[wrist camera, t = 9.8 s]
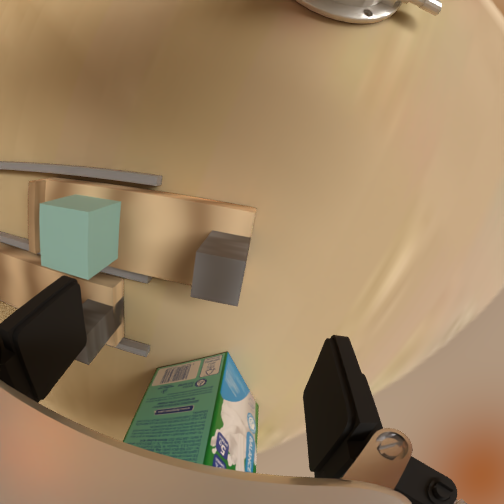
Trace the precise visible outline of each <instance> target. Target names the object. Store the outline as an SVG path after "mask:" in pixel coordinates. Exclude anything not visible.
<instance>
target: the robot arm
mask: <svg viewBox="0 0 504 504" xmlns="http://www.w3.org/2000/svg"><path fill="white" fill-rule="evenodd" d="M296 1H297V2H298V3H300V4H301V5H303V6H305V7H306V8H308V9H310V10H312V11H314V12H316V13H318V14H320V15H323V16H326V17H329V18H332V19H335V20H339V21H344V22H348V23H359V24H363V23H375V22H379V21H382V20H385V19H387V18H389V17H390V16H391V15H392V14H394V13H395V12H396V11H397V9H398V8H399V7H400V5H401V3H402V2H403V3H406V4H407V3H408V2H411V3H413V4H415V5H417V6H418V7H419V8H421V9H423V10H425V11H427V12H429V13H431V14H433V15H438V14H439V12H440V11H441V7H442V4H441V2H440V1H439V0H296ZM86 343H87V336H86V330H85V323H84V315H83V307H82V298H81V288H80V285H79V284H78V282H77V280H76V279H75V278H71V277H68V276H65V275H63V276H61V277H60V278H58V279H57V280H56V281H54V282H53V283H52V284H50V285H49V286H47V287H46V288H45V289H43V290H42V291H41V292H39V293H38V294H37V295H36V296H34V297H33V298H32V299H30V300H29V301H28V302H27V303H25V304H24V305H23V306H21V307H20V308H19V309H18V310H16V311H15V312H14V313H13V314H11V315H10V316H9V317H8V318H7V319H5V320H4V321H3V322H2V323H1V324H0V504H467V503H465V502H464V501H463V500H462V499H461V500H459V501H458V500H457V499H456V498H457V489H456V486H455V484H454V483H453V481H452V480H451V479H449V478H448V477H446V476H444V475H443V474H441V473H439V472H437V471H435V470H434V469H432V468H430V467H428V466H427V465H425V464H424V463H422V462H420V461H419V460H417V459H415V458H414V457H412V456H411V455H412V451H413V449H412V444H411V441H410V439H409V438H408V437H407V436H406V435H405V434H404V433H402V432H401V431H399V430H396V429H392V428H384V429H383V427H382V424H381V421H380V418H379V415H378V412H377V408H376V406H375V403H374V400H373V397H372V394H371V391H370V388H369V385H368V382H367V379H366V377H365V375H364V374H362V373H361V370H360V367H359V364H358V361H357V359H356V356H355V353H354V350H353V348H352V345H351V342H350V340H349V338H348V337H344V336H337V335H333V336H332V337H331V338H330V339H329V338H327V339H326V340H325V342H324V345H323V347H322V350H321V352H320V355H319V357H318V360H317V362H316V364H315V367H314V369H313V371H312V374H311V376H310V378H309V381H308V383H307V385H306V387H305V390H304V394H303V401H304V411H305V422H306V433H307V444H308V456H309V468H310V471H312V472H314V473H315V478H310V477H292V476H279V475H268V474H258V473H251V472H243V471H236V470H230V469H224V468H218V467H213V466H208V465H203V464H198V463H193V462H189V461H185V460H181V459H177V458H173V457H169V456H166V455H162V454H159V453H155V452H152V451H149V450H145V449H142V448H139V447H136V446H133V445H130V444H127V443H125V442H122V441H119V440H116V439H114V438H111V437H109V436H106V435H104V434H101V433H99V432H96V431H94V430H92V429H89V428H87V427H85V426H83V425H80V424H78V423H76V422H74V421H72V420H70V419H68V418H65V417H63V416H61V415H59V414H58V413H56V412H54V411H52V410H50V409H48V408H46V407H44V406H42V405H41V404H39V403H38V402H39V401H40V400H43V399H44V398H45V397H46V396H47V395H48V393H49V392H50V391H51V389H52V388H53V387H54V385H55V384H56V383H57V381H58V380H59V379H60V377H61V376H62V375H63V374H64V372H65V371H66V370H67V369H68V367H69V366H70V365H71V363H72V362H73V361H74V360H75V358H76V357H77V356H78V355H79V353H80V352H81V351H82V350H83V349H84V347H85V346H86Z"/></svg>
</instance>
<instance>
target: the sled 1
mask: <svg viewBox="0 0 504 504" xmlns="http://www.w3.org/2000/svg"><path fill="white" fill-rule="evenodd" d="M63 275H65V276H68V277H71V278H75V279H76V280H77V282H78V284H79V285H80V288H81V298H82V307H83V315H84V323H85V330H86V336H87V343H86V346H85V347H84V349H83V350H82V351H81V352H80V353H79V355H78V356H77V357H76V358H75V360H77V361H80V362H82V363H85V364H87V365H89V364H90V363H91V361H92V360H93V359H94V358H95V356H96V355H97V354H98V352H99V351H100V350H101V349H102V347H103V346H104V345H105V344H107V345H110V346H113V347H116V346H117V345H118V343H119V342H120V341H121V339H122V338H123V337H124V335H125V334H124V279H123V278H119V277H116V276H112V275H108V274H104V273H100V272H98V273H97V274H96V275H94V276H93V277H92V278H90V279H89V280H87V279H83V278H80V277H77V276H73V275H70V274H67V273H64V272H60V271H57V270H54V269H51V268H48V267H45V266H42V265H41V255H38V254H34V253H31V252H28V251H25V250H22V249H19V248H15V247H12V246H9V245H6V244H3V243H0V300H2V301H4V302H6V303H8V304H10V305H12V306H14V307H16V308H18V309H19V308H20V307H21V306H23V305H24V304H25V303H27V302H28V301H29V300H30V299H32V298H33V297H34V296H36V295H37V294H38V293H39V292H41V291H42V290H43V289H45V288H46V287H47V286H49V285H50V284H52V283H53V282H54V281H56V280H57V279H58V278H60V277H61V276H63Z"/></svg>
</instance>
